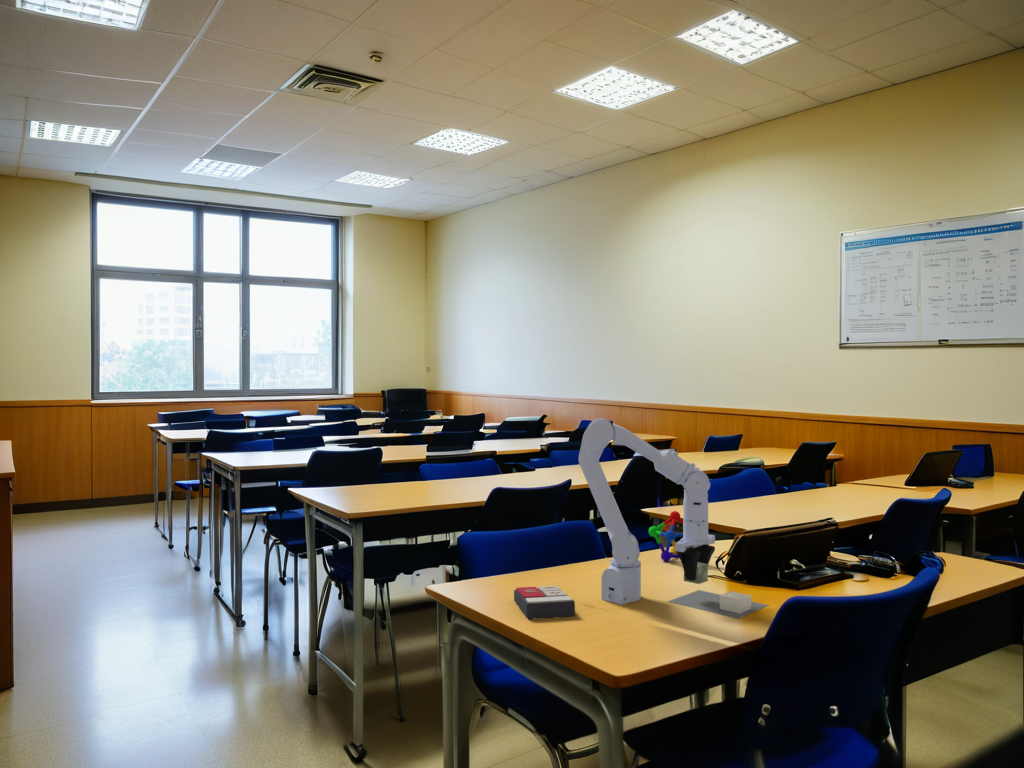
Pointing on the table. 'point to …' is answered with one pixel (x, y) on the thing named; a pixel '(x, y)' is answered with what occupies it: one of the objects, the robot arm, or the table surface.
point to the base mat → (712, 603)
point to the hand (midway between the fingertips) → (695, 578)
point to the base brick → (735, 602)
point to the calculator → (544, 602)
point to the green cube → (700, 574)
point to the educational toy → (667, 535)
